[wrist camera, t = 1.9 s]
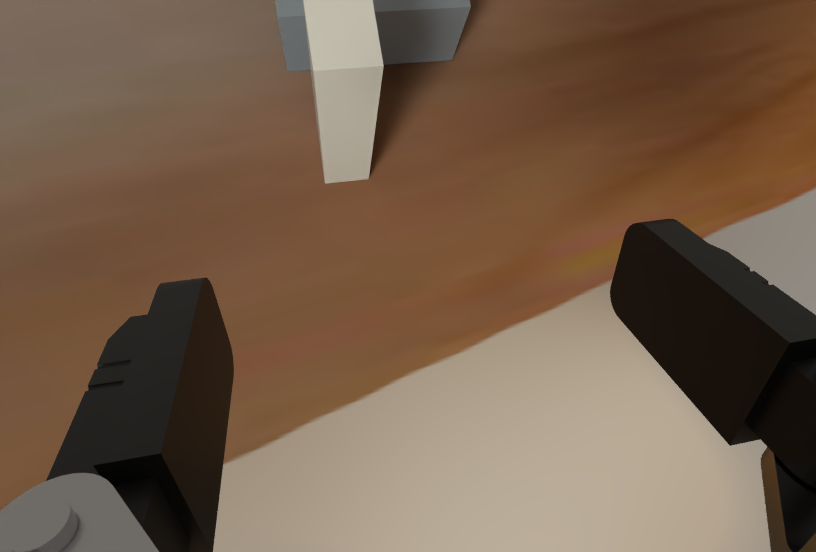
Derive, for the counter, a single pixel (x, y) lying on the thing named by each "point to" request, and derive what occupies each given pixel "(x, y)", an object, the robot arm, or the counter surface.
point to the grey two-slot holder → (387, 30)
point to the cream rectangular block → (344, 83)
